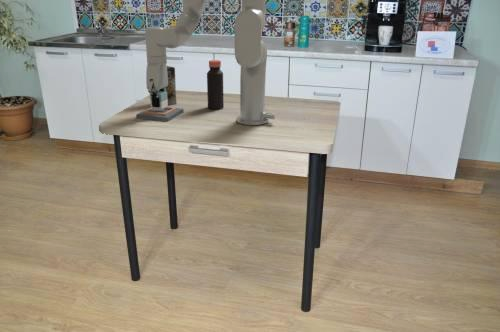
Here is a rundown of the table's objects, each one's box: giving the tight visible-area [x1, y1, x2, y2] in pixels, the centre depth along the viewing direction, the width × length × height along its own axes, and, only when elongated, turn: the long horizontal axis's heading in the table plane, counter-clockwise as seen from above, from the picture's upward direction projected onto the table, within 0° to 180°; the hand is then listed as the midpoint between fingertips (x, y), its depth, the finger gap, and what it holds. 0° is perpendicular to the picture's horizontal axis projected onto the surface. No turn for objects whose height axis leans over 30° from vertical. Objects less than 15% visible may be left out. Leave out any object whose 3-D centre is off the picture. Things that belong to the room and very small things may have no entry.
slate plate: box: [135, 106, 185, 122], centre depth 191 cm, size 14×14×2 cm
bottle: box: [206, 59, 225, 111], centre depth 199 cm, size 7×7×20 cm
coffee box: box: [154, 65, 177, 106], centre depth 205 cm, size 9×6×16 cm
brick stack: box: [149, 91, 169, 109], centre depth 189 cm, size 5×5×6 cm
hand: (159, 104), depth 190 cm, fingers closed on brick stack, 5 cm apart
